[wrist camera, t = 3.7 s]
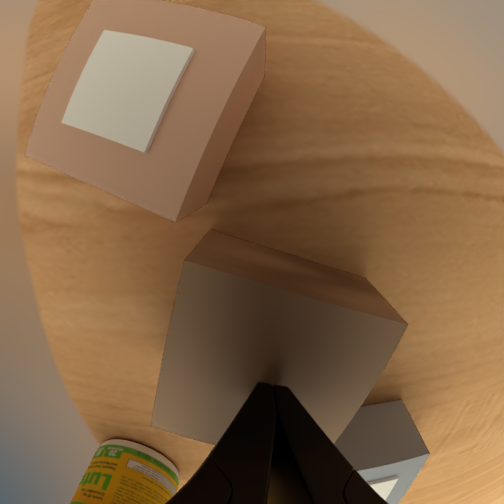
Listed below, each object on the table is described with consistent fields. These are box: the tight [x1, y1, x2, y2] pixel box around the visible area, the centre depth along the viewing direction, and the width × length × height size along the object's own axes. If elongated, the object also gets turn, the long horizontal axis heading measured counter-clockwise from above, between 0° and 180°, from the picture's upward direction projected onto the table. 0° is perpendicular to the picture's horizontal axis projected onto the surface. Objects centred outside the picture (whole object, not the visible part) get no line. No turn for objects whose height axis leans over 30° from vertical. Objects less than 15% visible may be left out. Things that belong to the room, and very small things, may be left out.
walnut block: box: [151, 230, 408, 445], centre depth 10 cm, size 6×6×4 cm
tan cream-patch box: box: [24, 0, 266, 222], centre depth 8 cm, size 5×5×4 cm
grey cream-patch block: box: [334, 400, 430, 504], centre depth 11 cm, size 5×5×4 cm
